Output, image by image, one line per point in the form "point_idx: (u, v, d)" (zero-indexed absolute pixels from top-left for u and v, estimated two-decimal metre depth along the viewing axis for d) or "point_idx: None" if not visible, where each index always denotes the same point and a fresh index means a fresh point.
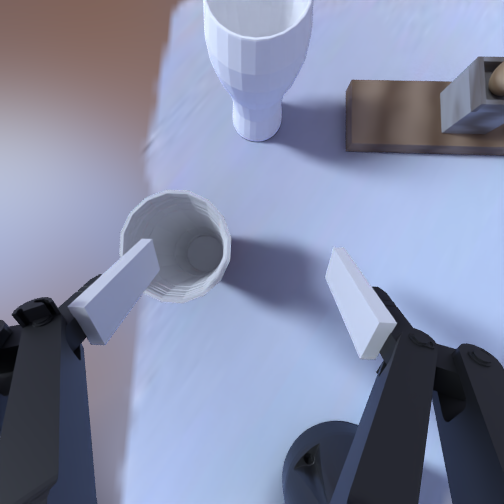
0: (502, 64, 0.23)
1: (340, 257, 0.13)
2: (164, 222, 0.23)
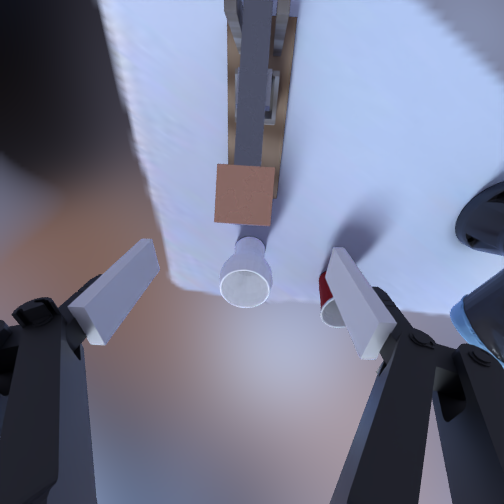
0: None
1: (340, 257, 0.13)
2: (324, 307, 0.49)
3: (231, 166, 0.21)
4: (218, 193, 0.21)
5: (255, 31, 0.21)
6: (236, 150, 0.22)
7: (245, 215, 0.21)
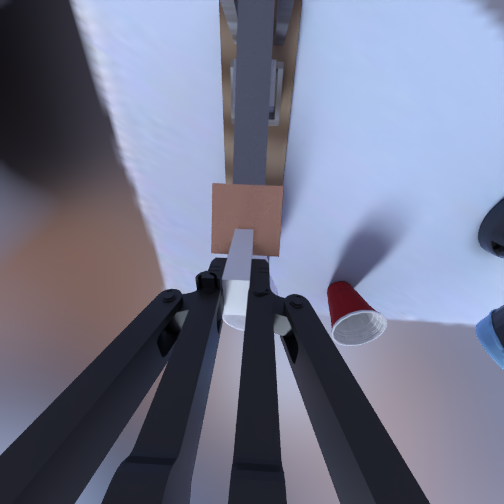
0: None
1: (244, 236, 0.15)
2: None
3: (230, 186, 0.17)
4: (215, 219, 0.18)
5: (254, 12, 0.17)
6: (235, 164, 0.18)
7: None
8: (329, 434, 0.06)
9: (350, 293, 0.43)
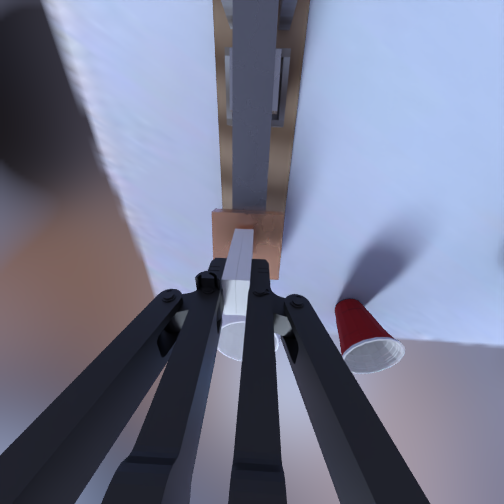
0: None
1: (244, 236, 0.15)
2: None
3: (229, 215, 0.17)
4: (216, 246, 0.18)
5: None
6: (234, 185, 0.17)
7: None
8: (329, 434, 0.06)
9: (362, 314, 0.39)
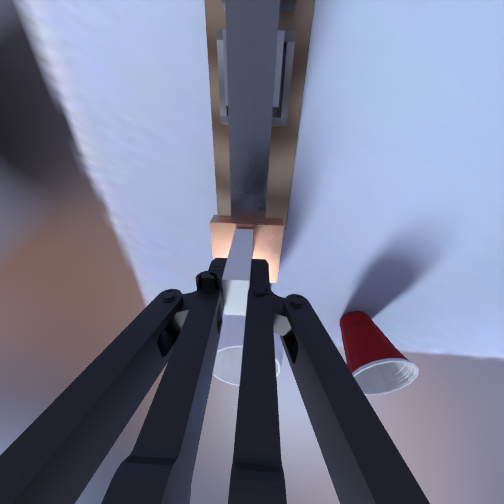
0: None
1: (244, 236, 0.15)
2: None
3: (228, 225, 0.16)
4: (215, 253, 0.18)
5: None
6: (232, 192, 0.17)
7: None
8: (329, 434, 0.06)
9: (370, 330, 0.36)
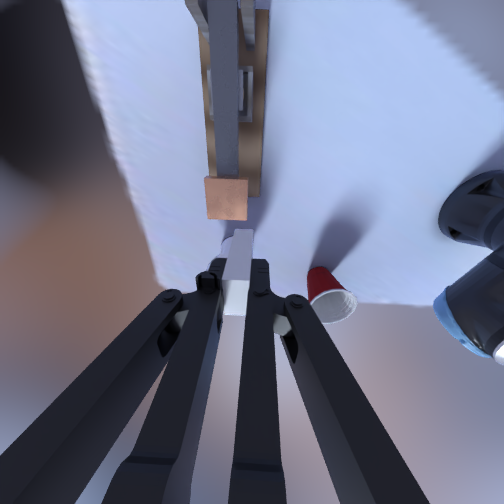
0: None
1: (244, 236, 0.15)
2: (312, 304, 0.49)
3: (215, 180, 0.28)
4: (208, 199, 0.29)
5: (222, 39, 0.22)
6: (217, 160, 0.28)
7: (229, 214, 0.30)
8: (329, 434, 0.06)
9: (326, 276, 0.48)
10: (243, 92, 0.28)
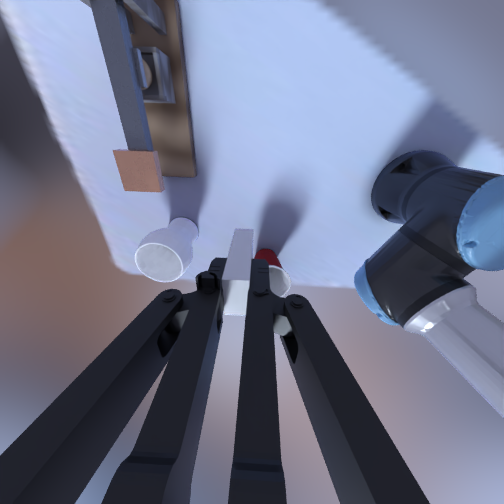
0: None
1: (244, 236, 0.15)
2: None
3: (122, 152, 0.30)
4: (120, 171, 0.32)
5: (105, 18, 0.24)
6: (125, 134, 0.30)
7: (143, 186, 0.33)
8: (329, 434, 0.06)
9: (266, 256, 0.50)
10: (148, 71, 0.30)
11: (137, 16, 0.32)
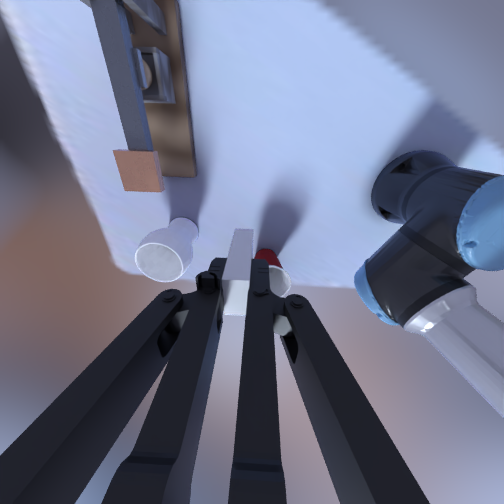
0: None
1: (244, 236, 0.15)
2: None
3: (122, 152, 0.30)
4: (120, 171, 0.32)
5: (105, 19, 0.24)
6: (125, 134, 0.30)
7: (143, 186, 0.33)
8: (329, 434, 0.06)
9: (266, 256, 0.50)
10: (149, 71, 0.30)
11: (137, 16, 0.32)
